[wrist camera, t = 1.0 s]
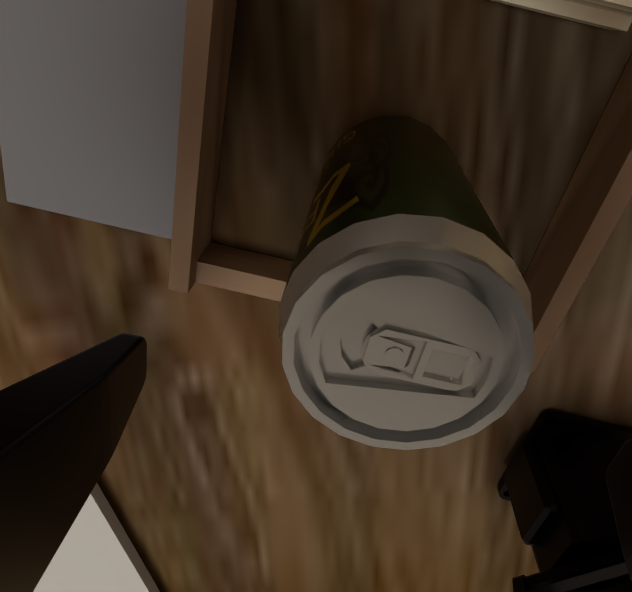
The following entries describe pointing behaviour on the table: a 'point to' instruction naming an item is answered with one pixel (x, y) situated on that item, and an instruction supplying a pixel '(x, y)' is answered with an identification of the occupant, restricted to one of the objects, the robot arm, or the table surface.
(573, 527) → the robot arm
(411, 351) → the beer can
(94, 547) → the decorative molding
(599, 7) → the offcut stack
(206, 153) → the wooden tray
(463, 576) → the table surface
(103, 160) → the grey rubber mat
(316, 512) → the table surface
